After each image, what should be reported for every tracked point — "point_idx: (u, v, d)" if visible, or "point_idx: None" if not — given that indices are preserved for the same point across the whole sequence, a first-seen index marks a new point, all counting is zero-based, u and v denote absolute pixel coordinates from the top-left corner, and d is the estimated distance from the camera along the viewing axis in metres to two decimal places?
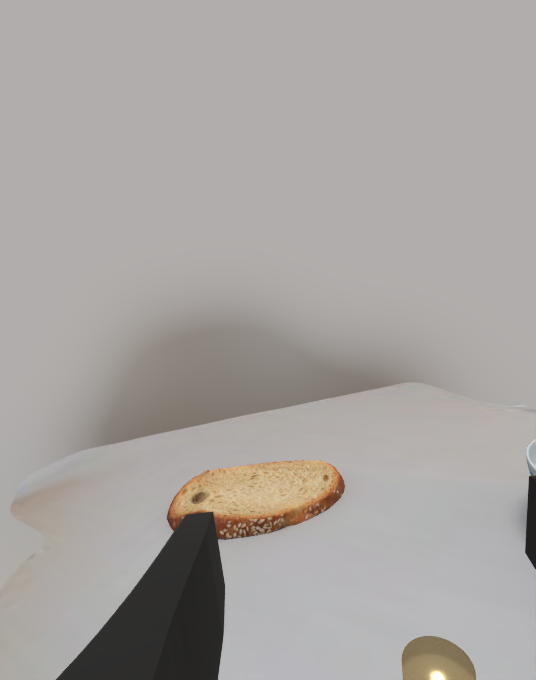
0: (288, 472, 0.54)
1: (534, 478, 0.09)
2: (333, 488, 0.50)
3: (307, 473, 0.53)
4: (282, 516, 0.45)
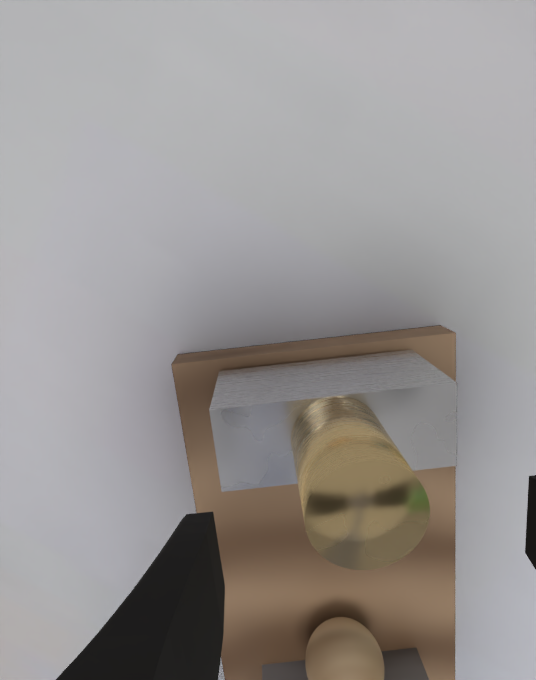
0: None
1: (534, 478, 0.09)
2: None
3: None
4: None
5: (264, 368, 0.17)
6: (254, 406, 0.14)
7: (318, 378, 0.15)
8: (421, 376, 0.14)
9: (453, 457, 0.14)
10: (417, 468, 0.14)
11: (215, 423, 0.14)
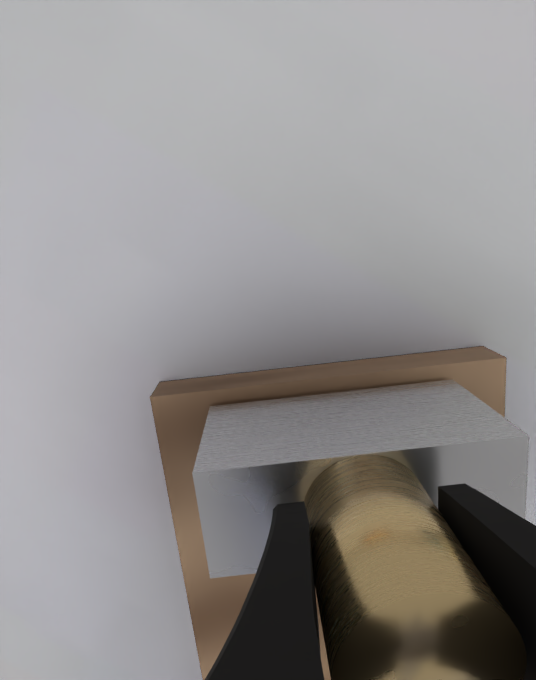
0: None
1: (442, 488, 0.09)
2: None
3: None
4: None
5: (266, 403, 0.14)
6: (254, 467, 0.10)
7: (337, 423, 0.12)
8: (476, 423, 0.11)
9: None
10: None
11: (201, 490, 0.10)
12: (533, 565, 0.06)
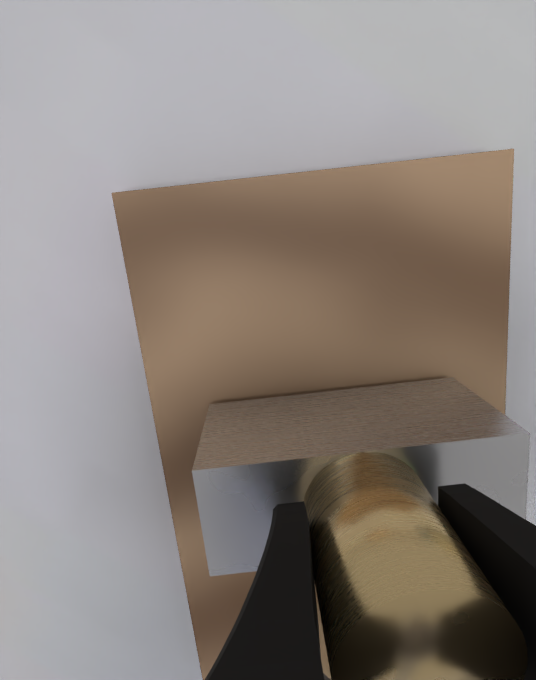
0: None
1: (441, 488, 0.09)
2: None
3: None
4: None
5: (266, 401, 0.14)
6: (253, 465, 0.10)
7: (337, 420, 0.12)
8: (476, 421, 0.11)
9: None
10: None
11: (200, 488, 0.10)
12: (533, 565, 0.06)
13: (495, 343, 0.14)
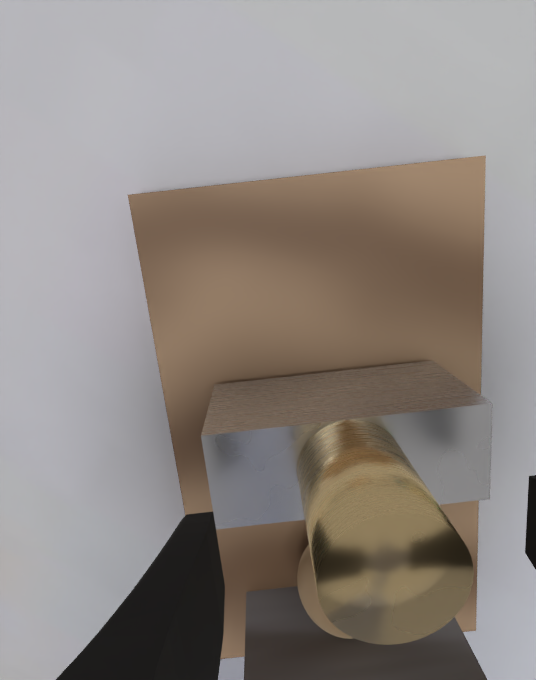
0: None
1: (535, 478, 0.09)
2: None
3: None
4: None
5: (265, 381, 0.15)
6: (254, 431, 0.12)
7: (328, 396, 0.13)
8: (448, 394, 0.12)
9: (486, 489, 0.12)
10: (443, 502, 0.12)
11: (208, 451, 0.12)
12: None
13: (471, 330, 0.16)
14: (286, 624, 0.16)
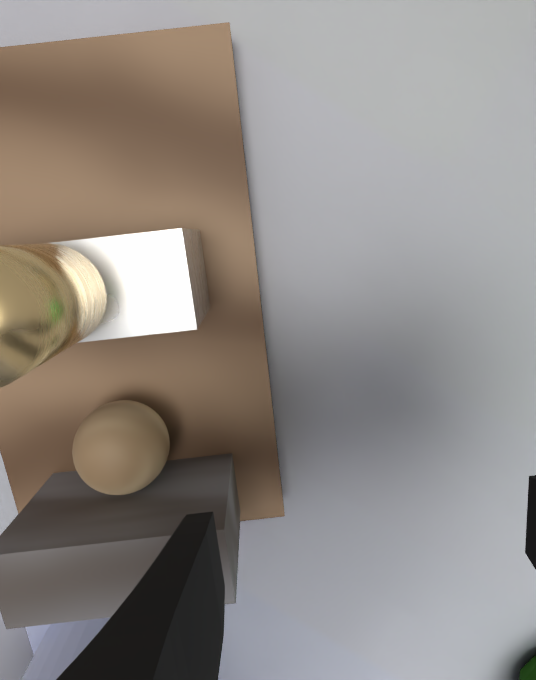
0: None
1: (534, 478, 0.09)
2: None
3: None
4: None
5: None
6: None
7: None
8: None
9: (192, 319, 0.13)
10: (155, 333, 0.13)
11: None
12: None
13: (238, 201, 0.16)
14: (72, 492, 0.17)
